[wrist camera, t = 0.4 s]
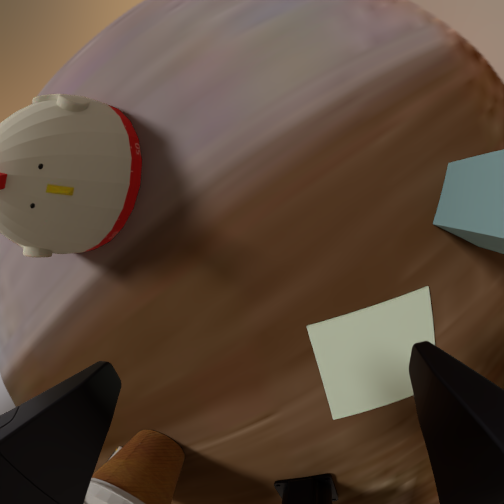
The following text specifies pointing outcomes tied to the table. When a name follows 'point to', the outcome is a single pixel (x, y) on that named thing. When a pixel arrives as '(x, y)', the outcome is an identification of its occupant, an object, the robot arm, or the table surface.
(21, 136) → the kitchen timer
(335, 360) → the plate
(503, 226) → the tea tin
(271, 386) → the table surface
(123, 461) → the disposable coffee cup
